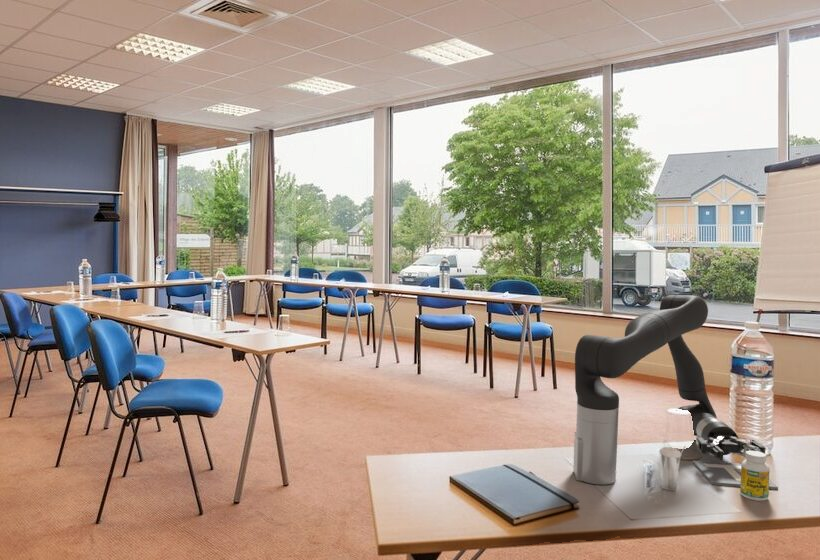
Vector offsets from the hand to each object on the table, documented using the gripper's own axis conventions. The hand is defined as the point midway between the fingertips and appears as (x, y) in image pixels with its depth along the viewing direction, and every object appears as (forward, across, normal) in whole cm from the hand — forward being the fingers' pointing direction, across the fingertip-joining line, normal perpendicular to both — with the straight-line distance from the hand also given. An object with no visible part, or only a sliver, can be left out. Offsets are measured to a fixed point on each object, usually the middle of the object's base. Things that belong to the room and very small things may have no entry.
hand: (741, 457), depth 137 cm
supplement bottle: (+8, 0, +6) cm, 10 cm away
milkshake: (+6, -17, +6) cm, 19 cm away
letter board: (-4, 0, +6) cm, 8 cm away
